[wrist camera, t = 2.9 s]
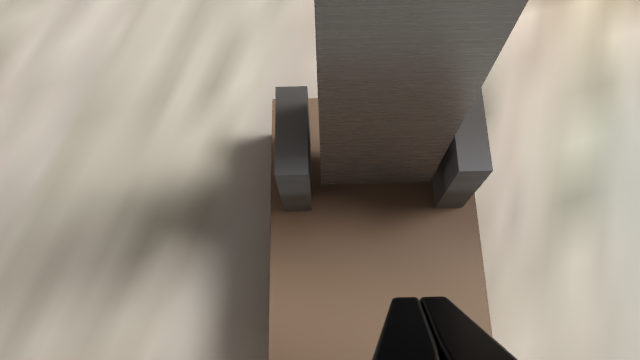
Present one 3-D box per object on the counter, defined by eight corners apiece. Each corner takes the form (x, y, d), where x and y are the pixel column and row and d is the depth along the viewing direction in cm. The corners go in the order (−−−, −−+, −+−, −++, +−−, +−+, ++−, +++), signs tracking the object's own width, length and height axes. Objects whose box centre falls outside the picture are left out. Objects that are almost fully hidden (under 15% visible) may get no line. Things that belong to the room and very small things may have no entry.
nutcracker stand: (471, 364, 16) (538, 361, 11) (277, 367, 16) (253, 366, 11) (445, 129, 19) (489, 38, 14) (279, 133, 19) (261, 43, 14)
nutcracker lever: (431, 201, 14) (787, -379, 3) (321, 203, 14) (298, -366, 3) (423, 115, 15) (680, -571, 4) (320, 118, 15) (298, -557, 4)
